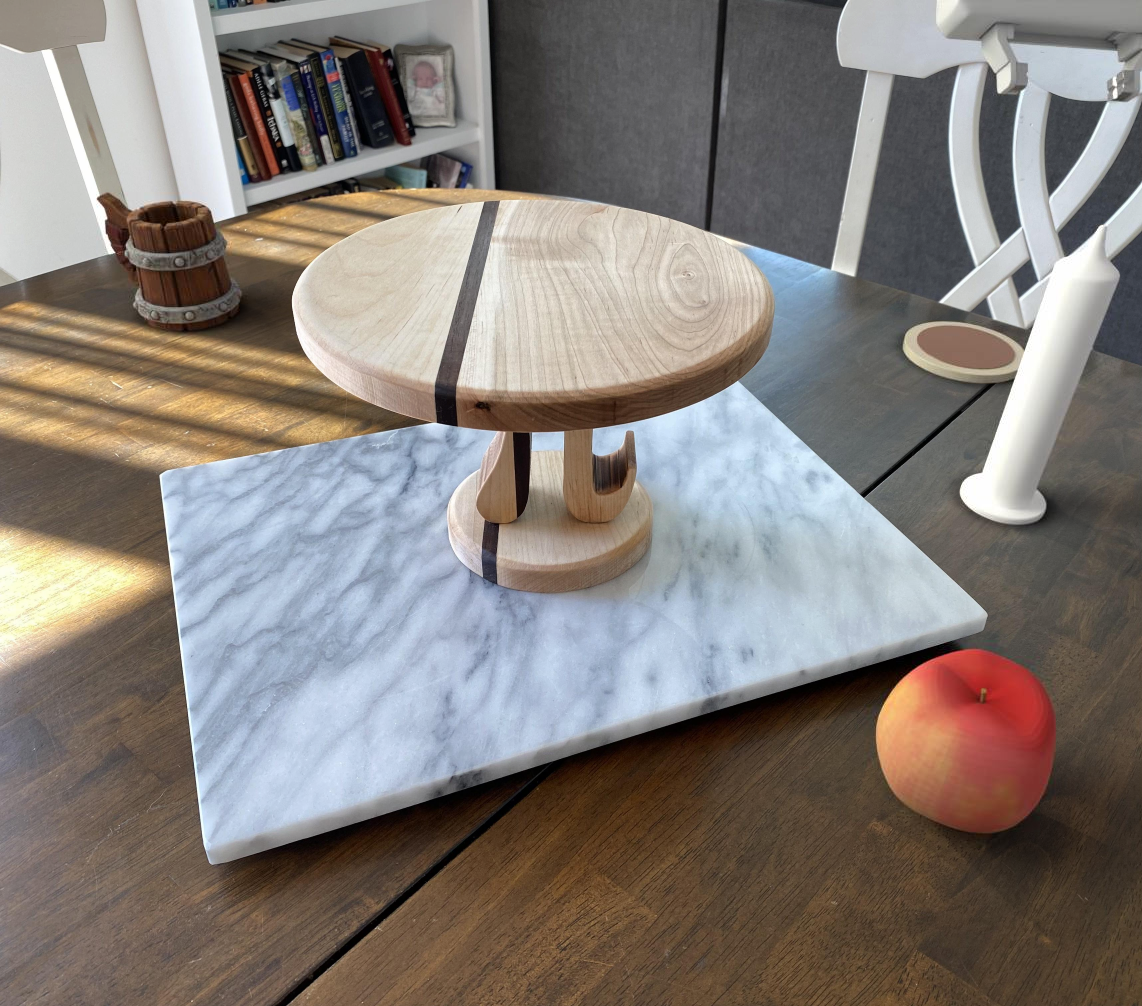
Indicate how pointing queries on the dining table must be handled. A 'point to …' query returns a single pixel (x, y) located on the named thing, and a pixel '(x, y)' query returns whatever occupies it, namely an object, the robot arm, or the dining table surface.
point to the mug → (173, 262)
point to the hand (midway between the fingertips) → (1068, 94)
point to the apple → (968, 741)
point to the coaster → (963, 352)
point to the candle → (1044, 386)
